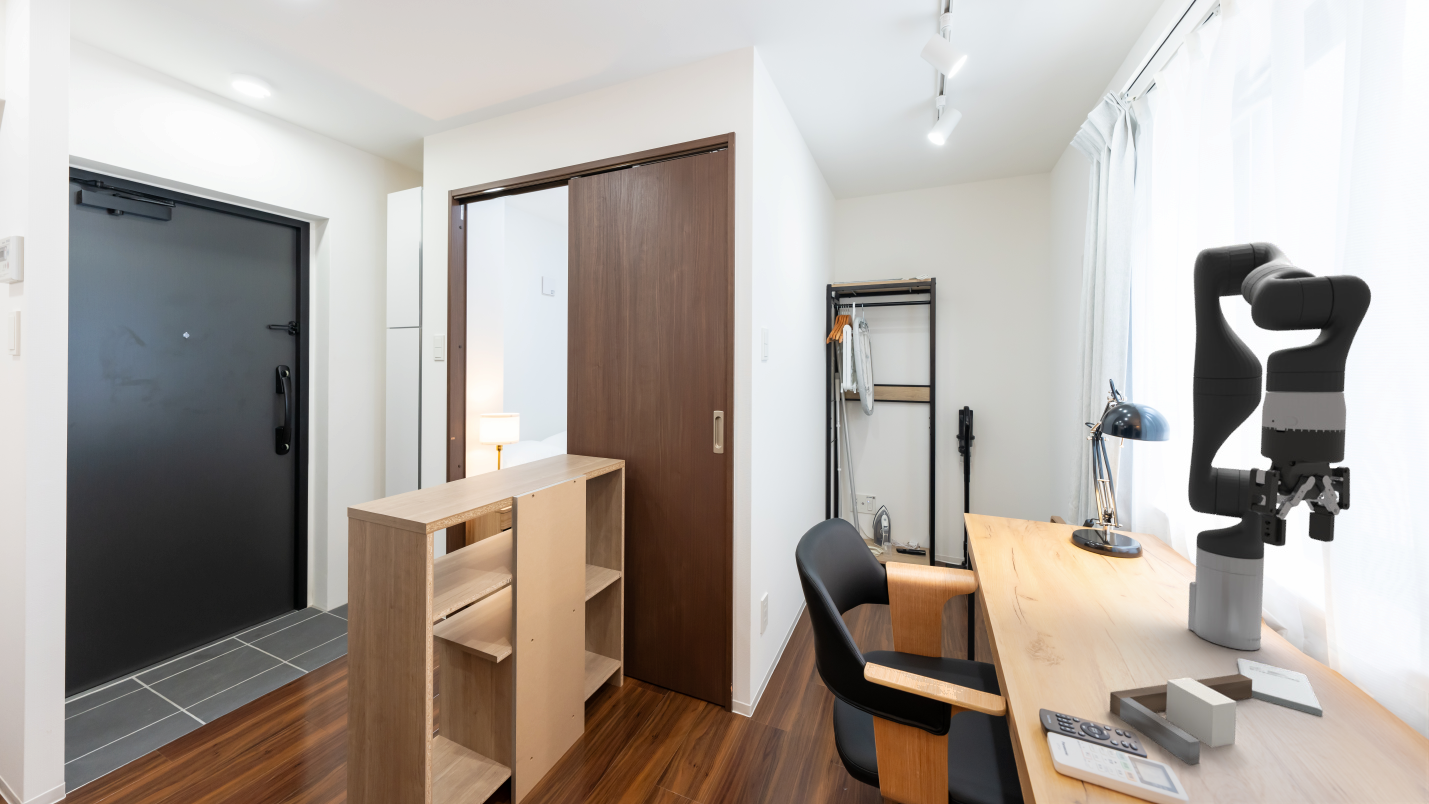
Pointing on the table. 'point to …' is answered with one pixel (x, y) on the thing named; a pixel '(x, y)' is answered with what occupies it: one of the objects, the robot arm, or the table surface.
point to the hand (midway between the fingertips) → (1297, 542)
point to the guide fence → (1147, 701)
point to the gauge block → (1201, 711)
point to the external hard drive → (1280, 686)
